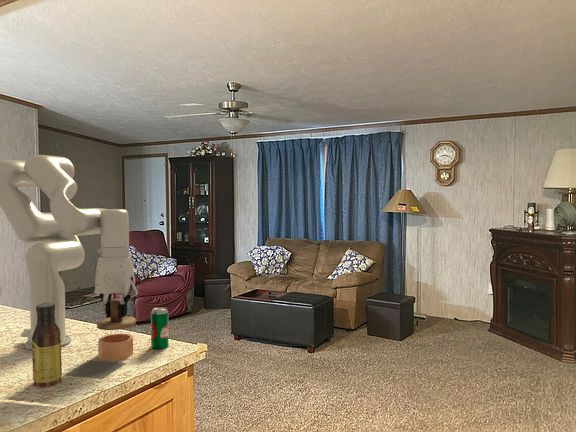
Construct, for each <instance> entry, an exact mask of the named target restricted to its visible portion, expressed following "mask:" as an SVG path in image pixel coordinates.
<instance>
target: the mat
mask: <svg viewBox="0 0 576 432" xmlns="http://www.w3.org/2000/svg"><path fill="white" fill-rule="evenodd" d="M126 364H127V363H126V362H121V361H119V362H118V361H117V362H116V361H109V360H96V359H95V360H94V359H89V360H88V361H86V362H85V363H82V364H81V365H79V366H77V367H75V368H73V369H71V370H70V371H68V372H66V373H65V374H63V376H70V377H78V378H89V379H99V380H104V379H105V378H107V377H108V376H109V375H111V374H112V373H115V371H117V370H119V369H120V368H122V367H124V366H125V365H126Z"/></svg>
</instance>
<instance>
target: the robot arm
mask: <svg viewBox="0 0 576 432" xmlns="http://www.w3.org/2000/svg"><path fill="white" fill-rule="evenodd" d="M74 177H75V166H74V164H73V163H72V162H71V161H70V160H69V159H68V158H66V157H64V156H57V155H47V154H46V155H45V154H35V155H32V156H30V157H28V158H27V159H26V160H20V159H18V160H17V159H1V160H0V208H1V209H2V211H3V213H4V215H5V217H6V219H7V221H8V222H9V224H10V225H11V228H12V229H13V231H14V233H15V235H16V236H17V238H18V239H19V240H20V241H21V242H22V244H23V243H24V244H28V245H29V244H30V245H31V246H30V247H28V249H27V250H26V252H25V258H24V260H25V265H26V270H27V275H28V282H29V283H28V284H29V311H30V312H29V314H30V315H29V316H30V328H24V329H23V332H21V333H20V337H21V338H27V341H26V342H25V343H24V348H25V349H26V350H30V351H32V336H33V333H34V331H35V328H36V325H37V311H36V306H37V305H38V304H41V303H54V304H55V310H54V318H55V321H54V322H55V323H56V325H57V326H58V327H59V329H60V340H61V348H62V347H65V346H68V345H69V344H71V342H72V338H71V336H69V335H67V334H66V287H65V283H64V281H63V279H62V277H61V276H60V273H59V272H62V271H66V270H67V271H68V270H72V269H77V268H79V267H80V266H81V265H83V263H84V261H85V257H86V256H85V249H84V246H83V245H82V243H81V241H80V239H79V237H78V236H89V235H90V236H91V235H100V248H97V253H98V254H100V257H98V259H97V264H96V268H95V276H94V277H95V281H94V284H95V285H94V287H95V288H94V290H93V293H94V294H95V295H97V296H98V297H99V298H100V299H101V300H102V302H103V304H104V307H105V311H104V313H105V317H106V318H109V317H110V300H112V299H114V298H113V297H114V295H118V296H119V298H118V299H120V304H119V305H118V317H119V318H123V317H125V316H128V315H127V314H128V303H129V302H130V300H131V299H132V298H133V297H136V296H138V295H139V290H138V289H137V287H136V284H135V283H136V279H135V277H136V276H135V269H134V264H133V259H132V257H131V256H130V226H129V225H130V224H129V221H130V217H129V213H128V211H127V210H126V209H124V208H123V209H121V208H118V209H117V208H110V209H108V208H100V207H94V208H89V207H87V208H78V207H76V206H75V205H74V204H73V203H72V202H71V201H70V200H71V199H73V198H74V197H75V195H76V193H77V191H78V185H77V182H76V181H75V180H74ZM20 188H39V189H40V190H41V191H42V192H43V194H45V195H46V197H48V198H49V210H50V212H43V211H42V212H41V211H39V209H38V208H37V207H36V205H35V203H34V201H33V200H32V198H31V197H29V195H28V194H26V193H25V192H24V191H22V190H21V189H20ZM129 292H130V293H129Z"/></svg>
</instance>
